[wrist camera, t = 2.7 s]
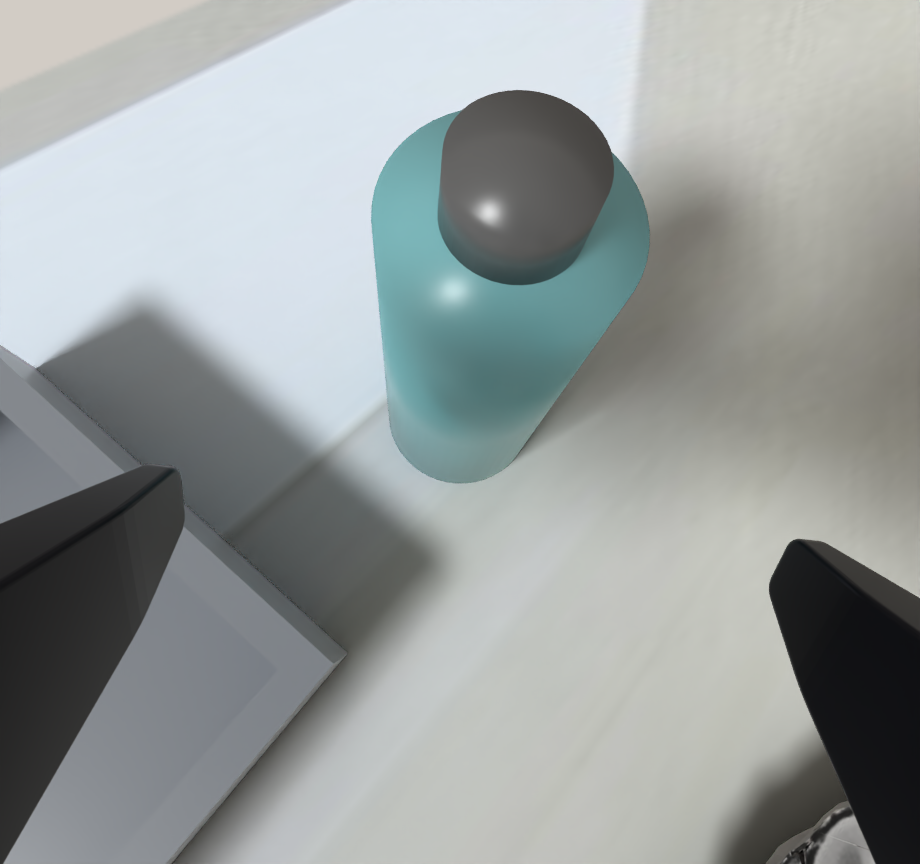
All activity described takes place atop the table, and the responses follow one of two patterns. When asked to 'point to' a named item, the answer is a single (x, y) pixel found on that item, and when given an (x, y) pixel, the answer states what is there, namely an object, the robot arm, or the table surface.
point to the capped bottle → (497, 274)
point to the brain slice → (827, 842)
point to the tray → (156, 661)
